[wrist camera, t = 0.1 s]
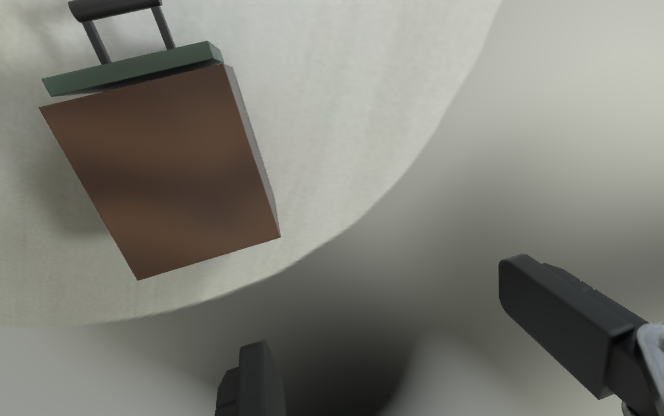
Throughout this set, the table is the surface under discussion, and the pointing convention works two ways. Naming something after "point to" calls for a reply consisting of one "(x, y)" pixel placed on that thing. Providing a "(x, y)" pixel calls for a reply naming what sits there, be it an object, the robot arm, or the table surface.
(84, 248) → the table surface
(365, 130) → the table surface
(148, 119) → the cabinet
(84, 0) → the drawer
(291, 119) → the table surface
